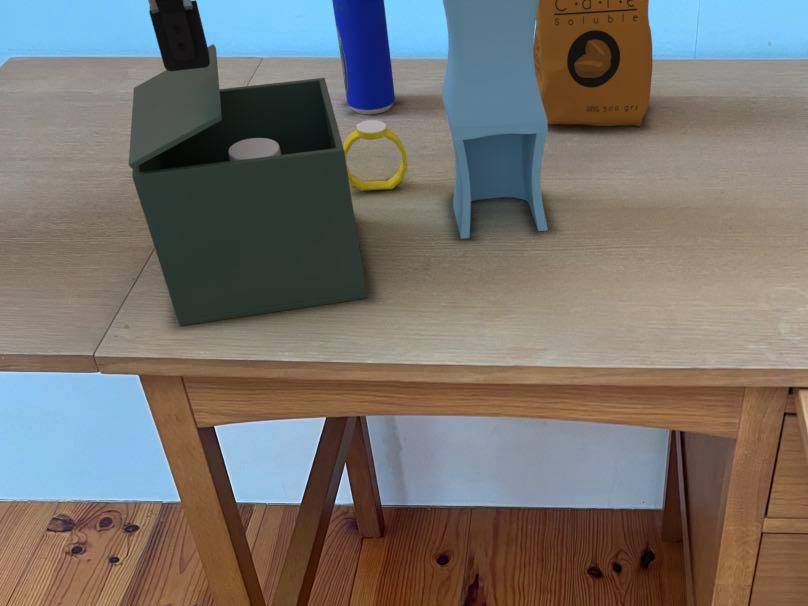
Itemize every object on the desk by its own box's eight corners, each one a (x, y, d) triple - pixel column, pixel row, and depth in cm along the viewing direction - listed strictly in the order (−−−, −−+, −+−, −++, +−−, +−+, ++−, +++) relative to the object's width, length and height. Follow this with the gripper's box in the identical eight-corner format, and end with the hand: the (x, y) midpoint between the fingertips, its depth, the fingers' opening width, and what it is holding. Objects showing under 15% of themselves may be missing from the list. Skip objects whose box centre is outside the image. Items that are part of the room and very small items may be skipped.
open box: (179, 326, 80) (131, 175, 71) (178, 240, 89) (136, 98, 80) (367, 298, 82) (344, 150, 73) (347, 217, 92) (324, 77, 83)
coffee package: (649, 136, 103) (666, -113, 87) (528, 136, 103) (523, -113, 88) (647, 97, 110) (661, -141, 94) (533, 96, 110) (529, -141, 95)
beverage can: (357, 94, 111) (335, -58, 100) (401, 98, 110) (385, -55, 100) (341, 114, 108) (317, -42, 97) (387, 117, 107) (368, -39, 96)
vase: (533, 189, 95) (529, -46, 81) (548, 230, 90) (546, -14, 75) (450, 197, 94) (431, -40, 80) (460, 238, 89) (442, -7, 75)
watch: (347, 197, 95) (337, 135, 90) (345, 184, 96) (335, 122, 92) (410, 191, 95) (403, 129, 91) (407, 178, 97) (400, 116, 93)
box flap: (132, 169, 71) (128, 164, 70) (136, 92, 80) (133, 87, 80) (222, 120, 70) (218, 115, 70) (216, 48, 79) (213, 43, 79)
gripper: (50, -267, 65) (137, 35, 78) (27, -227, 55) (132, 112, 68) (170, -274, 66) (236, 24, 79) (170, -236, 56) (245, 99, 69)
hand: (188, 64), depth 73 cm, fingers closed
